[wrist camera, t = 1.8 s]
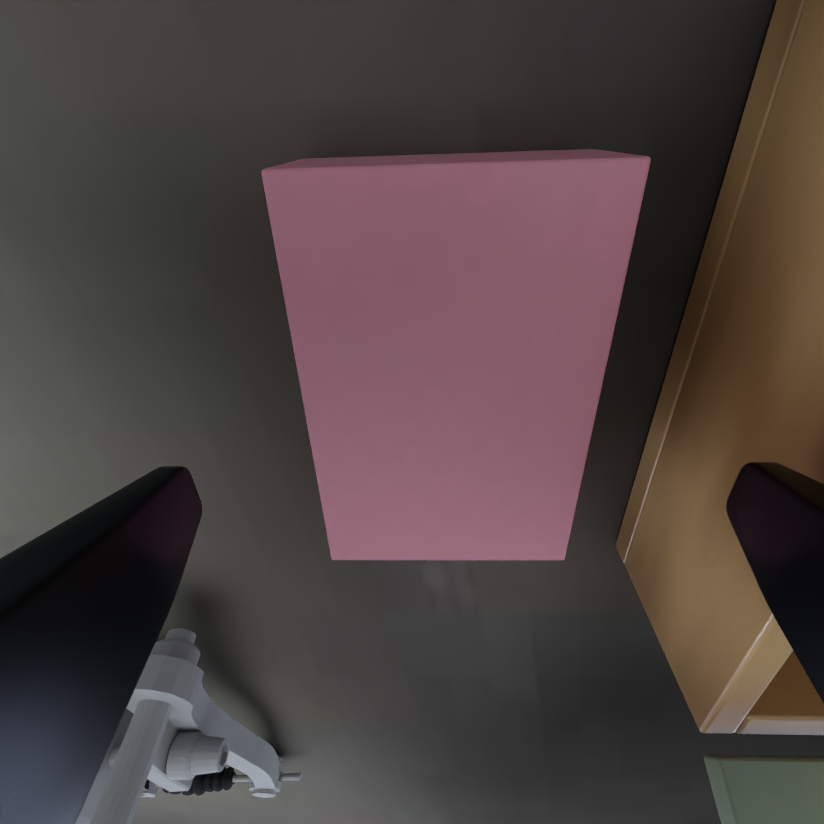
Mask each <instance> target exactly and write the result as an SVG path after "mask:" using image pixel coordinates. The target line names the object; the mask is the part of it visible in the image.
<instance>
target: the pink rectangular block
mask: <svg viewBox="0 0 824 824" xmlns="http://www.w3.org/2000/svg"><path fill="white" fill-rule="evenodd" d="M650 162H651V158H650V157H648V156H642V155H634V154H627V153H620V152H612V151H605V150H597V149H576V150H545V151H515V152H485V153H455V154H425V155H394V156H364V157H334V158H304V159H300V160H296V161H292V162H288V163H284V164H281V165H277V166H273V167H269V168H265V169H263V170H262V173H261V174H262V179H263V185H264V190H265V196H266V201H267V207H268V212H269V218H270V223H271V229H272V234H273V240H274V245H275V251H276V256H277V262H278V267H279V273H280V278H281V284H282V289H283V295H284V300H285V306H286V311H287V317H288V322H289V328H290V333H291V339H292V344H293V350H294V355H295V361H296V366H297V372H298V377H299V383H300V388H301V394H302V399H303V405H304V410H305V416H306V421H307V427H308V432H309V438H310V443H311V449H312V454H313V460H314V465H315V471H316V476H317V482H318V487H319V493H320V498H321V504H322V509H323V515H324V520H325V526H326V531H327V537H328V542H329V548H330V553H331V558H332V560H564V559H565V555H566V551H567V546H568V541H569V537H570V532H571V528H572V523H573V518H574V514H575V509H576V504H577V500H578V495H579V491H580V486H581V481H582V477H583V472H584V467H585V463H586V458H587V454H588V449H589V444H590V440H591V435H592V430H593V426H594V421H595V417H596V412H597V407H598V403H599V398H600V393H601V389H602V384H603V380H604V375H605V370H606V366H607V361H608V356H609V352H610V347H611V343H612V338H613V333H614V329H615V324H616V319H617V315H618V310H619V306H620V301H621V296H622V292H623V287H624V282H625V278H626V273H627V268H628V264H629V259H630V255H631V250H632V245H633V241H634V236H635V231H636V227H637V222H638V218H639V213H640V208H641V204H642V199H643V194H644V190H645V185H646V181H647V176H648V171H649V167H650Z"/></svg>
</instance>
